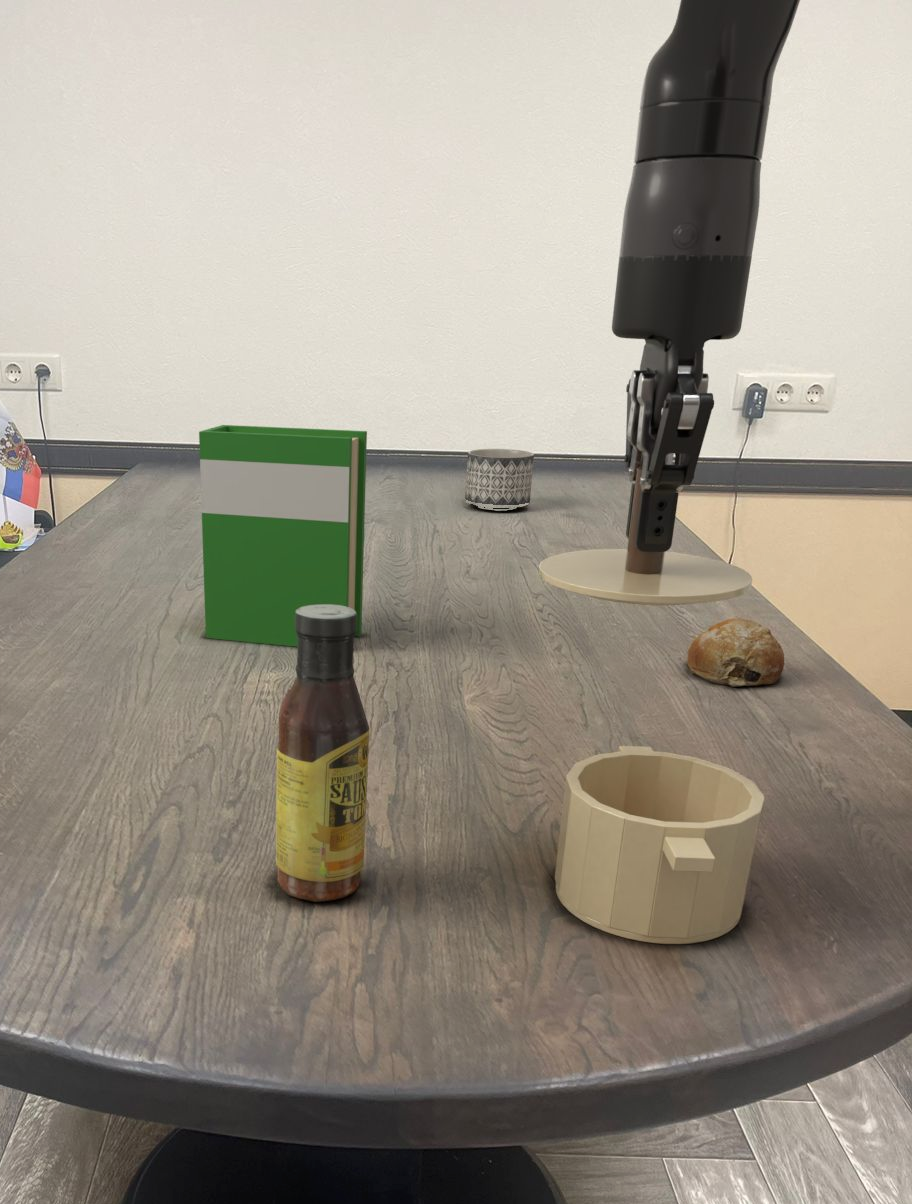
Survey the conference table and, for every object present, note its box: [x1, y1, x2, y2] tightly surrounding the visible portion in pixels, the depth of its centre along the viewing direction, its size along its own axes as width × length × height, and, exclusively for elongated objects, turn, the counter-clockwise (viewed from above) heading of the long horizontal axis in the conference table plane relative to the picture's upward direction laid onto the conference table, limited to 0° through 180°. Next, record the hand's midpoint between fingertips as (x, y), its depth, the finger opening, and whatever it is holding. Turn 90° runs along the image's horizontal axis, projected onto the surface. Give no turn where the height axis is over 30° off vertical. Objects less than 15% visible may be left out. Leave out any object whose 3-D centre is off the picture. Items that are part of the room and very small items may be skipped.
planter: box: [464, 448, 535, 509], centre depth 216 cm, size 13×13×10 cm
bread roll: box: [686, 617, 785, 688], centre depth 122 cm, size 10×10×8 cm
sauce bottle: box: [275, 604, 371, 903], centre depth 75 cm, size 6×6×20 cm
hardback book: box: [198, 424, 368, 648], centre depth 131 cm, size 18×7×24 cm, turn 73°
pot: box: [554, 745, 766, 945], centre depth 76 cm, size 13×18×8 cm
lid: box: [538, 467, 753, 606], centre depth 72 cm, size 14×14×8 cm
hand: (647, 544), depth 72 cm, fingers closed on lid, 2 cm apart
